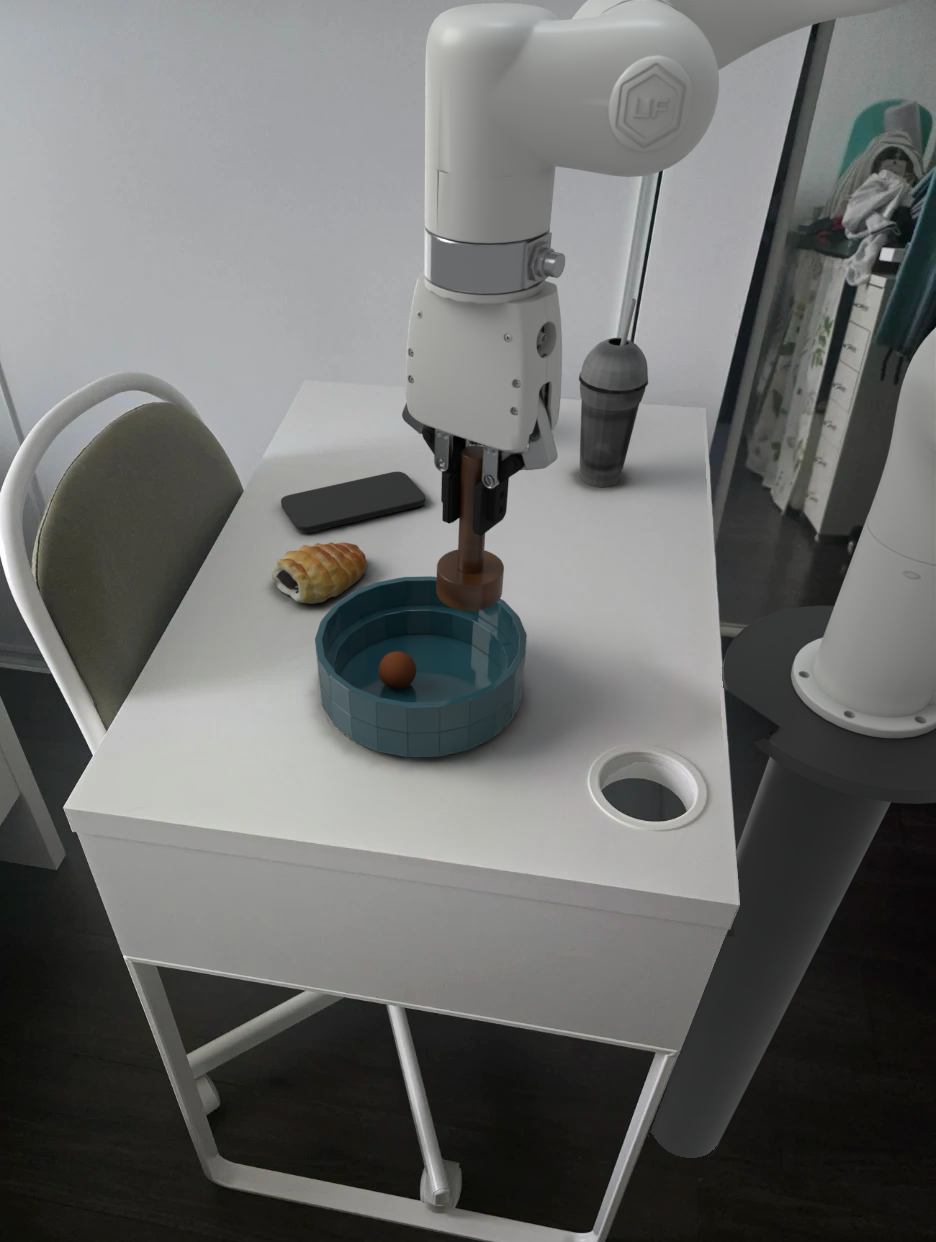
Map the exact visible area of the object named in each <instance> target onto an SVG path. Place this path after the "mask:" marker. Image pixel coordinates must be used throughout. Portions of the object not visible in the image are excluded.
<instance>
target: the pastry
mask: <svg viewBox="0 0 936 1242" xmlns="http://www.w3.org/2000/svg"><path fill="white" fill-rule="evenodd" d="M367 566H368V561H367V557H366V554H365V552H363V551H362V549H360V547H359V546H358V545H357V544H355V543H350V542H337V543H334V542H330V541H329V542H328V543H315V544H314V545H308V544H304V545H302V546H300V547H299V549H298V550H288V551H287V552H286V553H285V554H284V556H283V557H282V558H279V559H278V560H277V561H276V563H275V565H274V566H273V569H272V571H271V579H272V580H273V581H274V583H275V584H276V587H277V589H278V590H279V591H280V592H282V593H284V594H286V595H287V596H289V597H291V599H293V600H294V601H295V602H297V603H301V604H309V605H317V604H319V603H325V602H326V600H328V599H330V598H332V597H333V598H335V597H337V596H338V595H340V594H341V595H342V593H343V592H344V591H345V590H348V589H349V588H350V587H351V586H353V585H354V584H355V583H357V582H358V581H359V580H360V579H361V578H362V577H363V575H364V574H365V572H366V570H367Z"/></svg>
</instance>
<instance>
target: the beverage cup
mask: <svg viewBox="0 0 936 1242" xmlns="http://www.w3.org/2000/svg"><path fill="white" fill-rule="evenodd" d="M636 303H637V299H636V298H635V297H634V298H631V299H630V303H629V306H628V310H627V315H626V320H625V323H624V327H623V332H622V336H621V337H611V338H607V339H604V340H602V341H601V342H599V343H598V344H596V345H595V346H594V347H593V348H592V349H591V350H590V351H589V352H588V354H587V355H586V357H585V359H584V361H583V363H582V366H581V371H580V372H579V375H578V381H579V393H580V399H581V403H580V405H581V406H580V407H581V409H580V436H579V437H580V439H579V442H580V443H579V479H580V480H581V482H583V483H584V484H585V485H588V486H591V487H595V488H608V487H609V488H610V487H613V486H615V485H617V484H618V483H619V482H620V478H621V475H622V473H623V472H622V471H623V469H624V466H625V462H626V460H627V459H626V458H627V454H628V450H629V446H630V443H631V438H632V435H633V430H634V426H635V423H636V419H637V414H638V411H639V407H640V404H641V402H642V400H643V398H644V394H645V392H646V388H647V386H648V385H649V376H648V375H649V374H648V373H649V370H648V369H649V368H648V361H647V359H646V356H645V354H644V352H643V351H642V349H641V348H640V347H639V346H638V344H636V343H635V342H634V341H632V340H630V339H628V337H629V332H630V329H631V324H632V320H633V316H634V312H635V307H636Z"/></svg>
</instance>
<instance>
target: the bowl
mask: <svg viewBox="0 0 936 1242" xmlns="http://www.w3.org/2000/svg"><path fill="white" fill-rule="evenodd" d="M436 583H437V576H430V575H429V576H425V575H424V576H402V577H397V578H391V579H386V580H381V581H377V582H374V583H371V584H369V585H366V586H363V587H361V588H358V589H356V590H354V591H352V592H350V593H349V594H347V595H346V596H344V597H343V598H342V599H340V600H338V601H337V602H336V603H335V604H333V606H331V608H330V609H329V610H328V611H327V613H325V615H324V616H323V617H322V619H320V620H321V621H320V622H319V625H318V628H317V631H316V635H315V637H314V643H315V645H314V646H315V654H316V655H315V656H316V664H317V672H318V673H317V675H318V683H319V692H320V699H321V706H322V708H323V710H324V712H325V713H326V715H327V717H328V719H330V721H331V723H332V724H333V726H334V727H335V728H336V729H338V731H340V732H341V733H342V734H344V735H345V736H346V737H348V739H350V740H351V741H353V742H355V743H358V744H360V745H362V746H363V747H366V748H369V749H371V750H373V751H375V752H379V753H383V754H387V755H393V756H398V757H404V758H438V757H443V756H444V757H445V756H448V755H452V754H453V755H454V754H458V753H461V752H462V753H463V752H466V751H469V750H472V749H473V748H476V747H478V746H480V745H482V744H484V743H486V742H488V741H490V740H493V739H494V738H495V737H496V736H497V735H498V734H499V733H500V732H501V731H502V730H503V729H505V728H506V727H507V726H508V725H509V724H510V723H511V722H512V721H513V719H514V717H515V715H516V713H517V711H518V710H519V708H520V705H521V704H522V697H523V686H524V675H525V664H526V654H527V636H528V635H527V631H526V629H525V627H524V624H523V622H522V619H521V618H520V616H519V615H518V613H516V611H514V609H513V608H512V607H511V606H510V605H509V604H508V603H507V602H506V601H505V600H504V599H502V598H500V600H499V601H498V602H497V603H496V604H494V605H493V606H491V607H489V608H486V609H483V610H477V611H464V610H458V609H454V608H452V607H449V606H447V605H446V604H444V603H443V602H442V601H441V600H440V599H439V598H438V596H437V592H436ZM395 651H400V652H404V653H406V654H408V655H409V656H410V657H411V658H412V659H413V660H414V662H415V665H416V675H415V678H414V680H413V681H412V683H411V684H410V685H408V686H407V687H405V688H402V689H393V688H390V687H388V686H387V685H385V684H384V683H383V682H382V680H381V678H380V676H379V665H380V662H381V660H382V659H383V658H384V657H385V656H386V655H387V654H389V653H391V652H395Z"/></svg>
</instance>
